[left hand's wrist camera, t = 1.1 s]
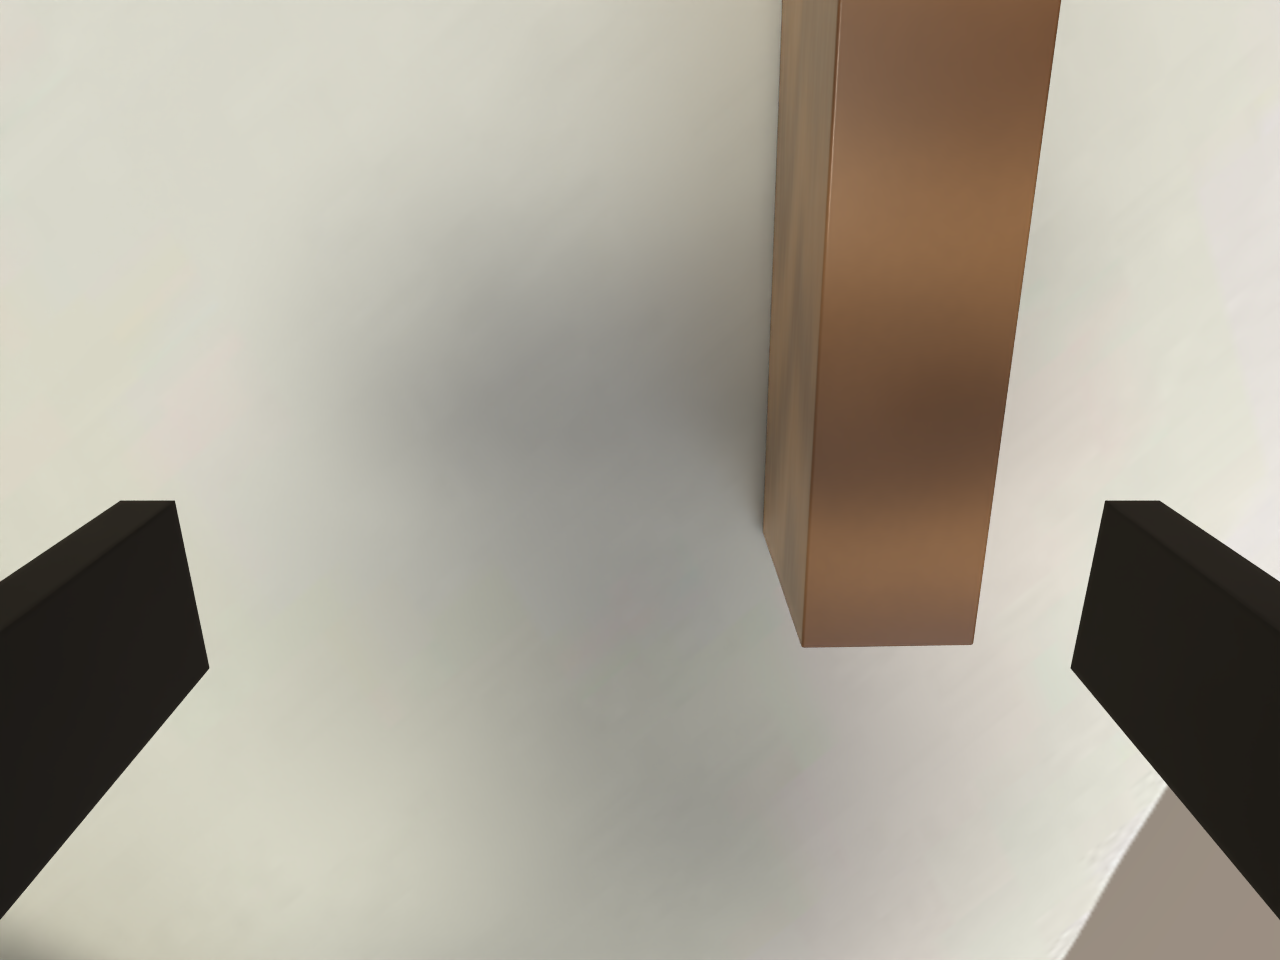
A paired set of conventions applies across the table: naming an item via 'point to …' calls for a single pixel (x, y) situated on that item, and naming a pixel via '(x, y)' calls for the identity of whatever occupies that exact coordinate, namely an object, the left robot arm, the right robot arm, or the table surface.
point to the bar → (896, 304)
